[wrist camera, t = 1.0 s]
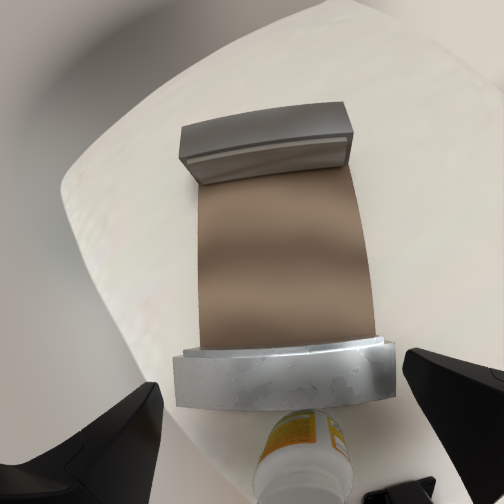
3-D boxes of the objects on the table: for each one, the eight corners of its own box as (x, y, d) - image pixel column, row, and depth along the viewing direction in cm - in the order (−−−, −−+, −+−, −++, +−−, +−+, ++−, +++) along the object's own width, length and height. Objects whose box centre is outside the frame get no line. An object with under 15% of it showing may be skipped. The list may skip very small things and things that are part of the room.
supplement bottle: (258, 454, 17) (222, 527, 8) (287, 398, 18) (267, 457, 9) (322, 474, 15) (324, 554, 6) (354, 420, 16) (383, 486, 7)
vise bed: (372, 390, 17) (393, 411, 11) (211, 399, 19) (180, 420, 14) (338, 144, 22) (342, 101, 17) (205, 163, 24) (181, 126, 19)
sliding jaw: (378, 382, 15) (395, 396, 11) (201, 392, 17) (176, 406, 14) (376, 333, 16) (394, 335, 12) (198, 346, 18) (172, 350, 14)
